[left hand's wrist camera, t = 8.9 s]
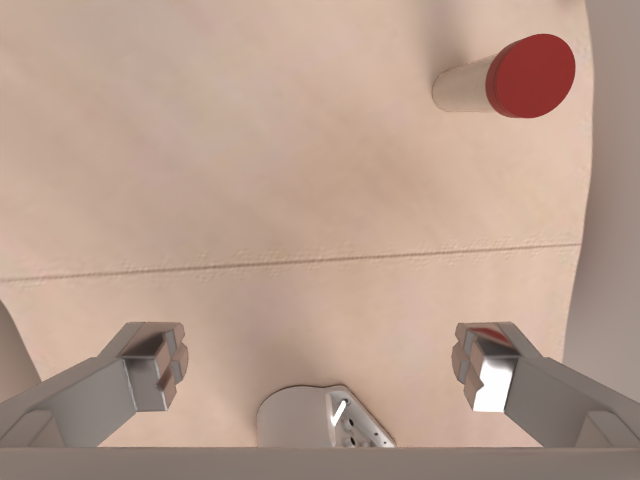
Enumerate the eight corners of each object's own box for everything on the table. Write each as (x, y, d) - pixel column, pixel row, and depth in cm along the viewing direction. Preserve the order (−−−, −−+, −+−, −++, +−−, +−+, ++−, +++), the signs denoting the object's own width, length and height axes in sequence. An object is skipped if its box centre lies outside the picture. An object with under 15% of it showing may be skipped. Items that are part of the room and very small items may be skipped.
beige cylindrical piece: (478, 75, 38) (577, 52, 23) (463, 116, 39) (546, 119, 24) (440, 63, 37) (516, 33, 23) (426, 106, 39) (488, 103, 24)
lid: (571, 51, 24) (590, 46, 22) (537, 125, 26) (552, 126, 24) (502, 29, 24) (516, 23, 22) (473, 107, 25) (484, 107, 24)
